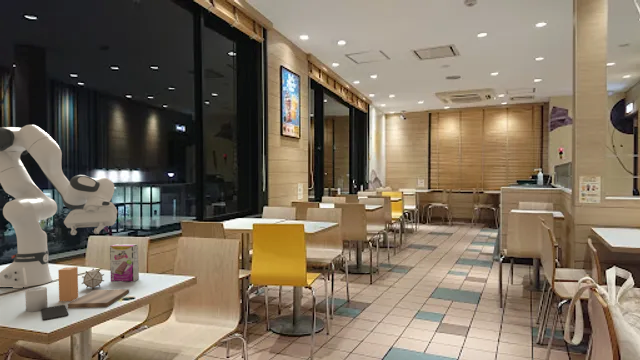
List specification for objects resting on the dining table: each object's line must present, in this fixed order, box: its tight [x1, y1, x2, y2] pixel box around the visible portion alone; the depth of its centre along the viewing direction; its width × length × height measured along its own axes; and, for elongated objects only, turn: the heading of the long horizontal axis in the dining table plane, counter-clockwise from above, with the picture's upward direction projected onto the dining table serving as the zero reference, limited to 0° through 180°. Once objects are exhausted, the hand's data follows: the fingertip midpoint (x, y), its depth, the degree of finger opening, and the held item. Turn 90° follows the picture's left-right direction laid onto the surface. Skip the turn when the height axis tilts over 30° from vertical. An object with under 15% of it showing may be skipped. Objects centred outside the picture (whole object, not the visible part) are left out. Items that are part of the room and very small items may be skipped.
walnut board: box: [67, 288, 130, 309], centre depth 156 cm, size 14×18×2 cm
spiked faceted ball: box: [81, 268, 105, 290], centre depth 174 cm, size 9×8×10 cm
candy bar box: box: [109, 243, 140, 283], centre depth 186 cm, size 11×5×16 cm, turn 84°
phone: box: [40, 304, 70, 321], centre depth 142 cm, size 7×1×15 cm
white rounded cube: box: [25, 286, 48, 313], centre depth 147 cm, size 6×6×7 cm
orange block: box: [57, 266, 79, 302], centre depth 158 cm, size 5×5×12 cm
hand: (84, 233), depth 169 cm, fingers open, 8 cm apart
